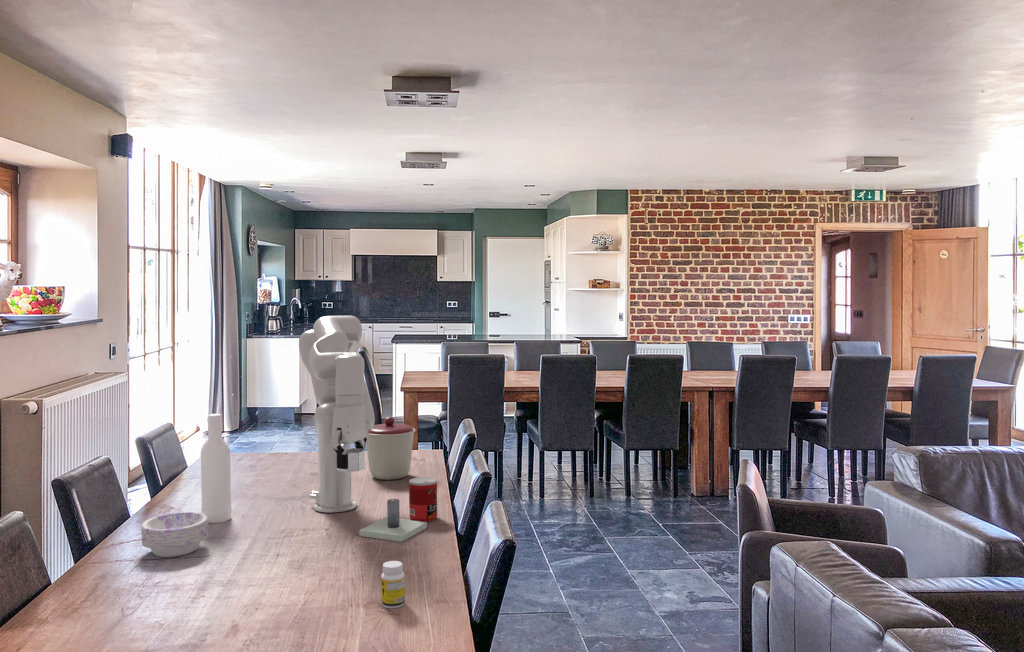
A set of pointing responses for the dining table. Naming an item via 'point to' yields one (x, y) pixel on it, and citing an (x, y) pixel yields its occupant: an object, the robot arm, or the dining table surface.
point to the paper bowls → (174, 533)
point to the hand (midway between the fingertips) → (350, 465)
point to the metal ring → (355, 460)
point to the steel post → (393, 513)
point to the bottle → (215, 473)
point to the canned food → (423, 499)
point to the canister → (390, 449)
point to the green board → (393, 530)
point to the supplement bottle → (393, 585)
